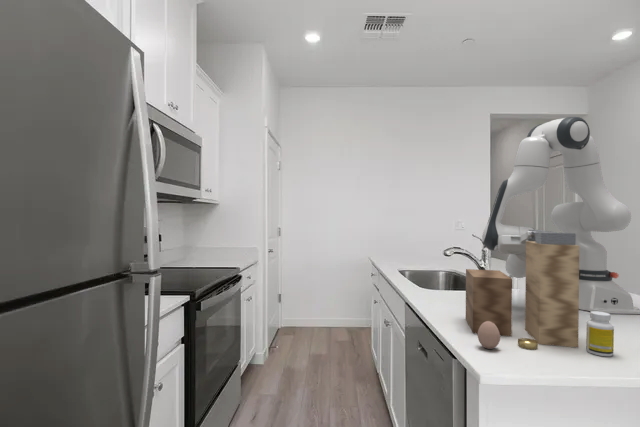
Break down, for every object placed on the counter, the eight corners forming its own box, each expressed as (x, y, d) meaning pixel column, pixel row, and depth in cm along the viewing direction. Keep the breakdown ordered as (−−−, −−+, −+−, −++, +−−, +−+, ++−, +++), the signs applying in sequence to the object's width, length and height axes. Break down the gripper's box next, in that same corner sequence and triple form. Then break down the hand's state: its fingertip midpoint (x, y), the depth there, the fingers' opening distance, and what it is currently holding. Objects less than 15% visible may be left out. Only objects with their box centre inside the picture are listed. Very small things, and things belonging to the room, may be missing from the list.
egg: (498, 353, 92) (498, 325, 92) (475, 349, 95) (476, 322, 95) (501, 347, 96) (501, 320, 96) (479, 343, 99) (479, 317, 99)
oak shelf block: (559, 332, 110) (560, 242, 110) (578, 347, 97) (579, 245, 97) (525, 329, 112) (525, 241, 112) (539, 344, 99) (540, 244, 99)
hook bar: (519, 238, 121) (519, 229, 120) (547, 239, 119) (547, 229, 119) (541, 244, 100) (541, 232, 100) (575, 245, 98) (575, 233, 98)
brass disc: (534, 345, 99) (534, 338, 99) (540, 351, 94) (540, 344, 94) (516, 344, 100) (516, 337, 100) (520, 349, 96) (520, 342, 96)
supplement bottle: (618, 358, 90) (618, 316, 90) (592, 356, 91) (593, 315, 91) (606, 350, 95) (606, 311, 95) (582, 348, 96) (582, 309, 97)
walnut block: (498, 320, 121) (499, 270, 121) (511, 336, 105) (512, 278, 105) (465, 318, 123) (466, 269, 123) (472, 333, 108) (473, 276, 108)
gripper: (492, 243, 131) (500, 223, 119) (559, 244, 126) (574, 224, 114) (494, 260, 128) (502, 242, 116) (562, 262, 123) (578, 243, 111)
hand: (538, 233), depth 115 cm, fingers closed on hook bar, 3 cm apart
